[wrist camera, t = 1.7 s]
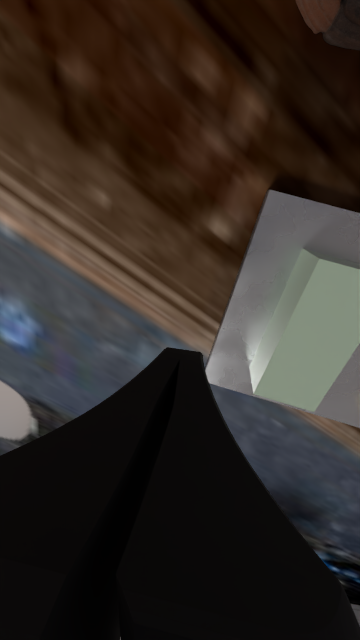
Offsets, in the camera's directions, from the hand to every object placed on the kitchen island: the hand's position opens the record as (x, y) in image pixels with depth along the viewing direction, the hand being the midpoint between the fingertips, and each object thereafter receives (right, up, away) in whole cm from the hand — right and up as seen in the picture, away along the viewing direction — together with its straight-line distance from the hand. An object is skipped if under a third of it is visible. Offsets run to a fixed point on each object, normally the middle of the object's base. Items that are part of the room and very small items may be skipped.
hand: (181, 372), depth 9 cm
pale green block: (+8, +2, +8) cm, 11 cm away
